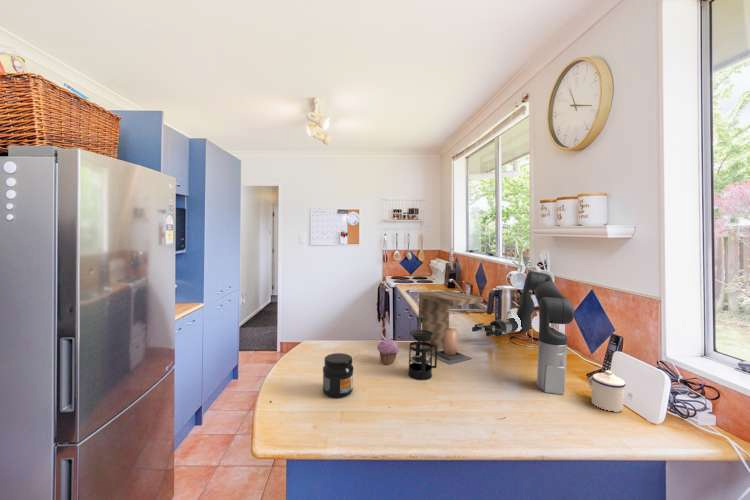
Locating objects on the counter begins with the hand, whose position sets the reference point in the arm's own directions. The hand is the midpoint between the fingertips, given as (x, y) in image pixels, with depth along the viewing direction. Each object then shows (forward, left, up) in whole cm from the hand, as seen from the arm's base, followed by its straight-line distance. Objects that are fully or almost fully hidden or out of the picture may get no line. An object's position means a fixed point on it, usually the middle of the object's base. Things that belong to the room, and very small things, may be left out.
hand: (479, 331), depth 164 cm
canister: (-14, +14, -8) cm, 21 cm away
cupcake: (-29, +40, -9) cm, 50 cm away
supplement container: (-60, +52, -9) cm, 80 cm away
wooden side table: (-14, +14, -9) cm, 22 cm away
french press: (-38, +25, -9) cm, 46 cm away
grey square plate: (-14, +14, -9) cm, 22 cm away
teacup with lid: (-45, -36, -9) cm, 58 cm away
